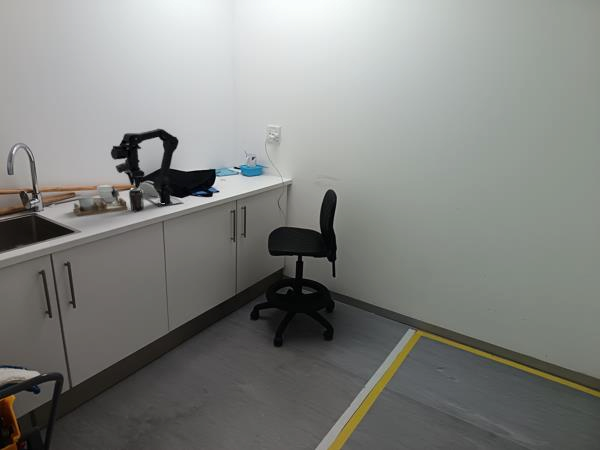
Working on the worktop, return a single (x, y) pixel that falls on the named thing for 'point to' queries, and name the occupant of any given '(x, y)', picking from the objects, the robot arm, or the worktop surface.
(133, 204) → the beverage can
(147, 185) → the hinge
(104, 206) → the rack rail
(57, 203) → the worktop surface
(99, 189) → the shelf bracket
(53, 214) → the worktop surface
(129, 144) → the robot arm
